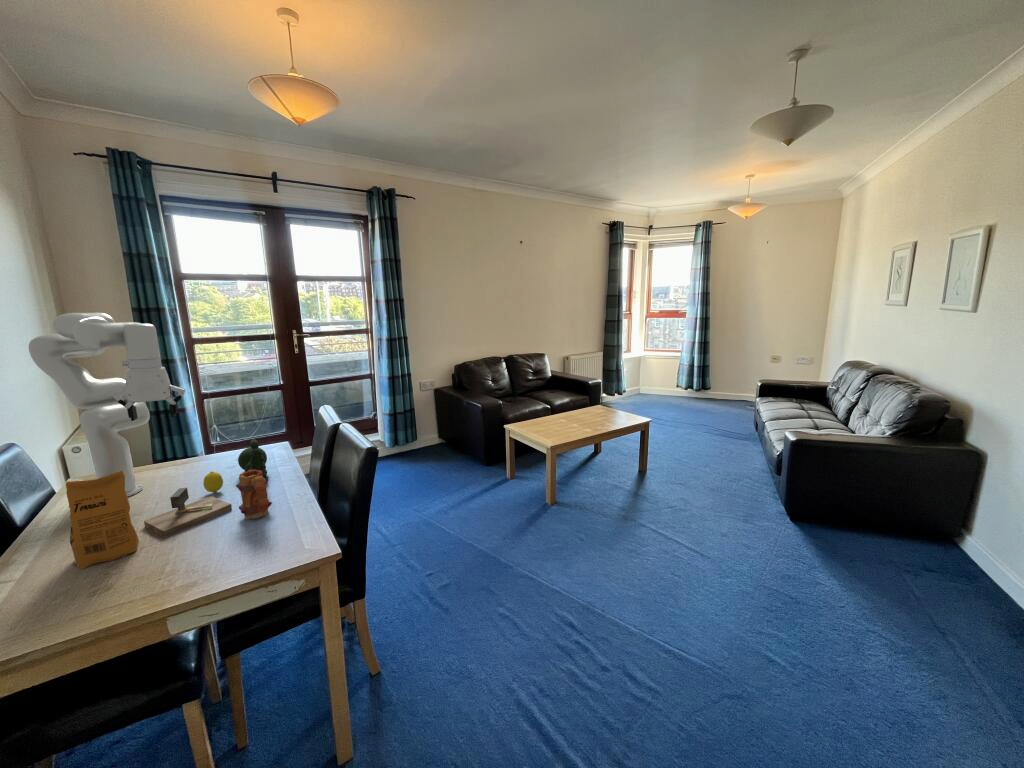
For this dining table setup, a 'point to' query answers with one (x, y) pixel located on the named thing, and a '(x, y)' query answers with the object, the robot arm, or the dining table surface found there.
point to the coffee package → (100, 520)
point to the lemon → (213, 482)
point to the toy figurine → (253, 458)
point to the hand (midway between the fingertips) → (154, 417)
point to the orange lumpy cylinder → (253, 494)
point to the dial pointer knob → (183, 501)
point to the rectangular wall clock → (186, 517)
